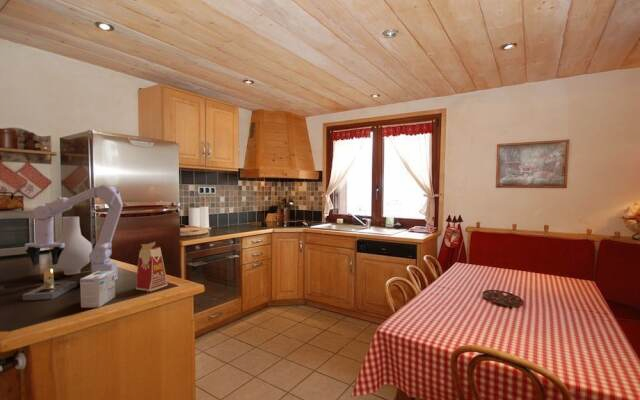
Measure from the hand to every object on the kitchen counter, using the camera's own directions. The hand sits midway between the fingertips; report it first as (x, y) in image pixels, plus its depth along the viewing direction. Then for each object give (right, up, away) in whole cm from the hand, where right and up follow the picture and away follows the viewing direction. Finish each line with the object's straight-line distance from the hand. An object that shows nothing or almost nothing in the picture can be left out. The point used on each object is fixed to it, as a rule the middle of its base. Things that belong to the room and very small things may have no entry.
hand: (45, 264), depth 139 cm
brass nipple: (0, -9, +1) cm, 9 cm away
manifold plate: (+10, -10, -9) cm, 17 cm away
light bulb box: (+36, -11, -19) cm, 42 cm away
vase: (-4, -9, +20) cm, 22 cm away
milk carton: (+46, -10, -1) cm, 48 cm away
